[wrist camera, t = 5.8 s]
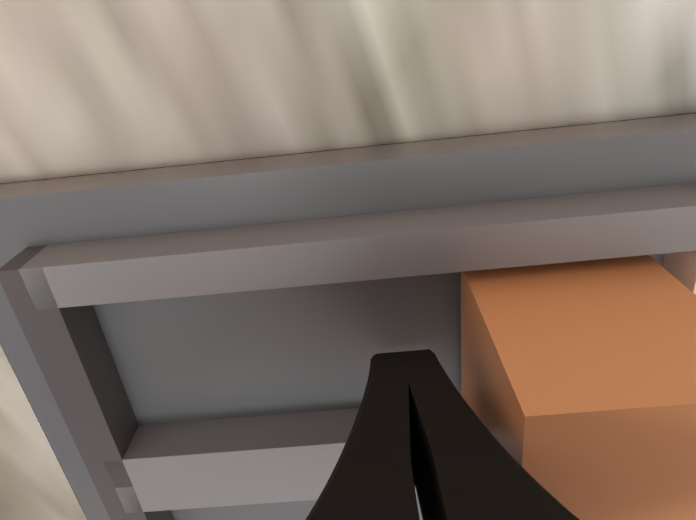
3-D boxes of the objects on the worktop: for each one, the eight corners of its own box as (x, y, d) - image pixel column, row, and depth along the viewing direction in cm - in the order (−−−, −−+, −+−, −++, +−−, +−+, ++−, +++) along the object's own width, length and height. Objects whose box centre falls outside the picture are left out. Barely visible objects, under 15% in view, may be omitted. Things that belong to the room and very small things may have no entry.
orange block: (616, 386, 13) (743, 569, 9) (461, 399, 14) (513, 585, 9) (640, 247, 12) (812, 394, 7) (460, 263, 12) (525, 416, 7)
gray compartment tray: (665, 537, 18) (707, 608, 16) (141, 571, 19) (116, 643, 17) (780, 104, 12) (878, 128, 10) (-33, 187, 13) (-111, 226, 10)
